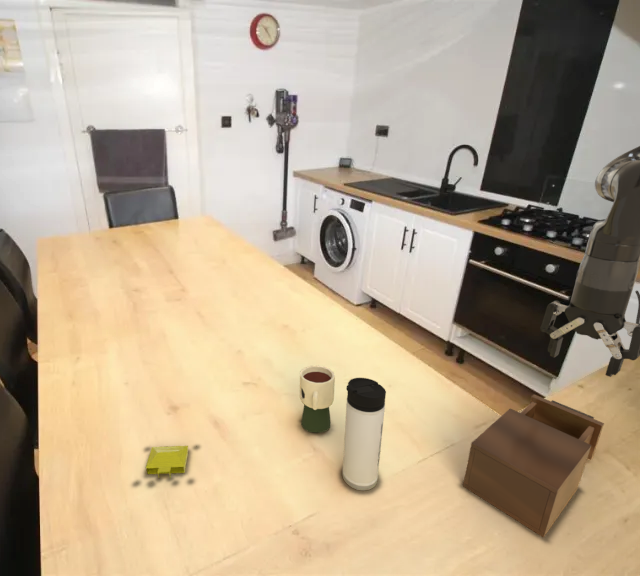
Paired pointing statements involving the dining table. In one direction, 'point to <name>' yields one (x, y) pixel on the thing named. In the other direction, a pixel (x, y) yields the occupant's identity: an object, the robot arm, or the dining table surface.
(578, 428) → the drawer
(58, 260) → the dining table surface
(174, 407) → the dining table surface
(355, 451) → the travel mug
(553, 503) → the cabinet
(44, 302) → the dining table surface
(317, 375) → the character mug
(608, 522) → the dining table surface
